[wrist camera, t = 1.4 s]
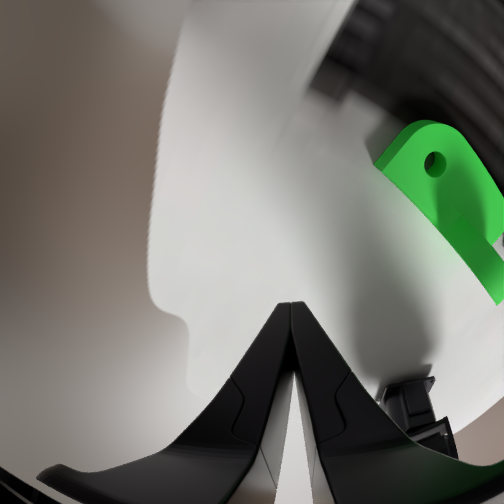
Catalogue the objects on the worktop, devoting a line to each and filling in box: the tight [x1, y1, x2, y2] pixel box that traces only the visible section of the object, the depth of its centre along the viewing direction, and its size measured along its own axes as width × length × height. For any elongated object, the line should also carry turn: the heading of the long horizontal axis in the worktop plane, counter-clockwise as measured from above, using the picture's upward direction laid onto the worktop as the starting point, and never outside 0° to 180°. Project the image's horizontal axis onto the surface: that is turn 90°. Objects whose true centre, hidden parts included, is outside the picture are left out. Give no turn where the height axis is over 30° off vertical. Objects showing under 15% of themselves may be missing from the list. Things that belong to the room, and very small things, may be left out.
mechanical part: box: [373, 120, 504, 305], centre depth 15 cm, size 12×6×8 cm, turn 56°
